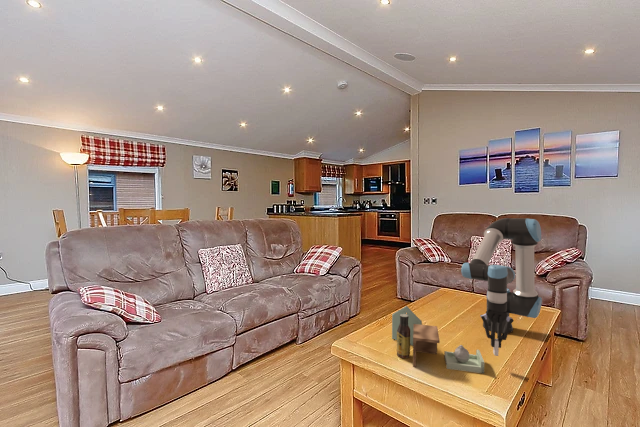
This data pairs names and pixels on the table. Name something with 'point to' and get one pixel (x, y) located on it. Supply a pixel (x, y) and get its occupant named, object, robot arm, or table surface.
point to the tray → (471, 365)
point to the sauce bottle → (403, 337)
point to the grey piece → (411, 321)
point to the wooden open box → (424, 340)
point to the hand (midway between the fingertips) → (495, 354)
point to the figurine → (461, 354)
